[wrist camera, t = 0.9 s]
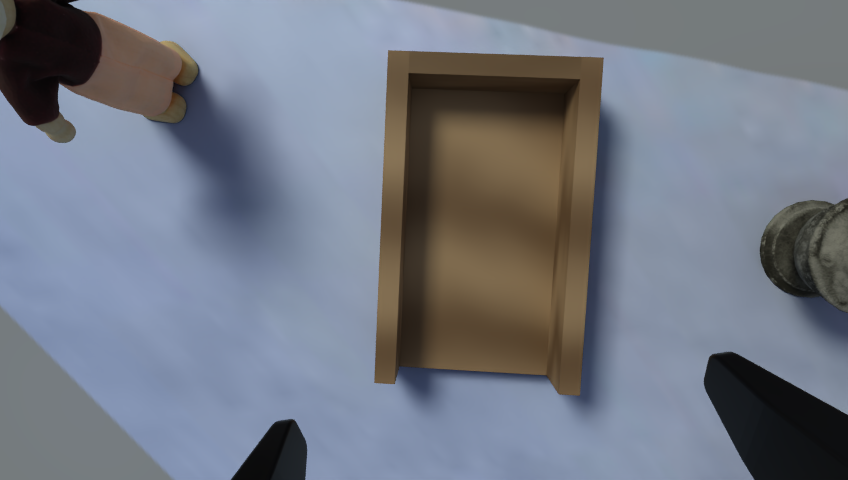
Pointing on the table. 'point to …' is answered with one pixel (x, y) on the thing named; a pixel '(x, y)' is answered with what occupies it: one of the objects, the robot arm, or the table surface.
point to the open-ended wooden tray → (487, 213)
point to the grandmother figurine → (85, 65)
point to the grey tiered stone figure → (809, 251)
